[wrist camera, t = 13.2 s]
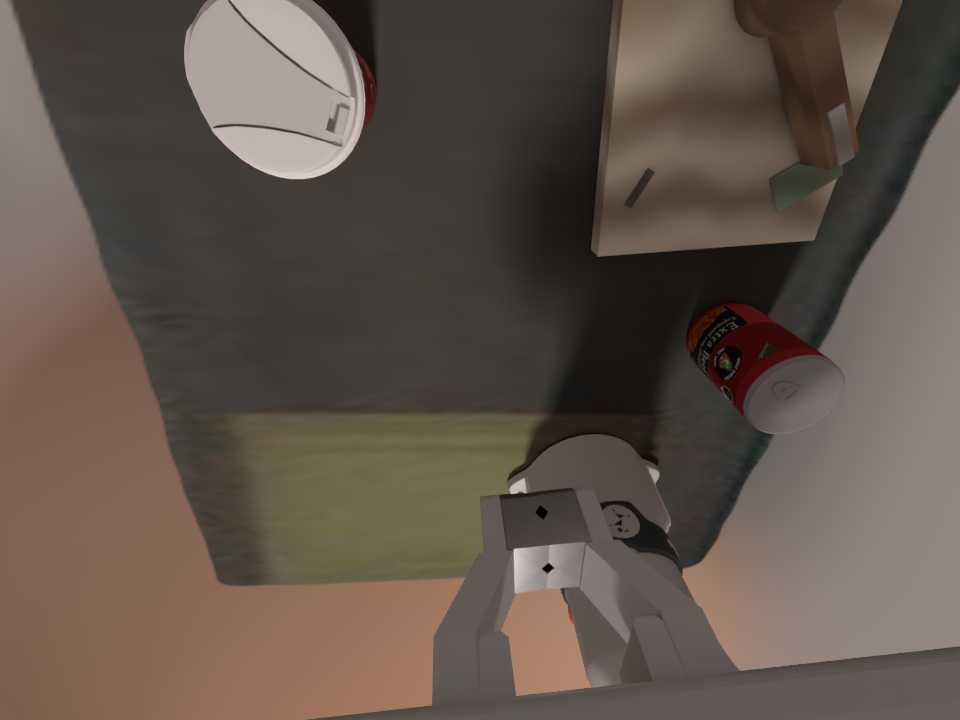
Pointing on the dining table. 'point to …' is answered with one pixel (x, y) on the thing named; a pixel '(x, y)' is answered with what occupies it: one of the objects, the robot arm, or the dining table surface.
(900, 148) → the dining table surface
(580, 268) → the dining table surface
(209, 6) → the paper cup
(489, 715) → the robot arm
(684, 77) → the cream flat square slab
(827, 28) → the wooden spoon
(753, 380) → the canned food
